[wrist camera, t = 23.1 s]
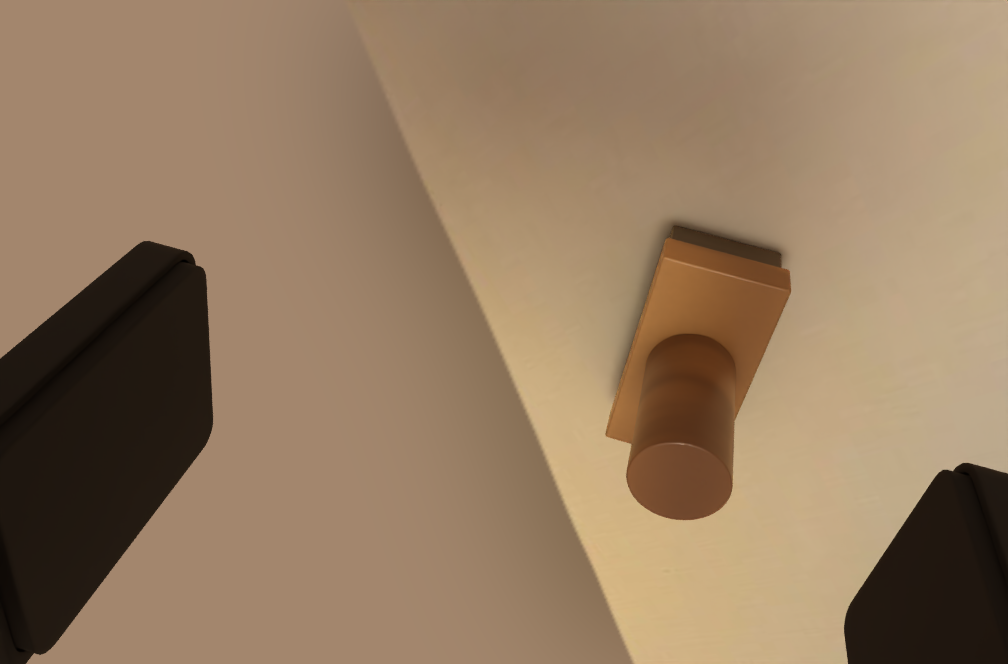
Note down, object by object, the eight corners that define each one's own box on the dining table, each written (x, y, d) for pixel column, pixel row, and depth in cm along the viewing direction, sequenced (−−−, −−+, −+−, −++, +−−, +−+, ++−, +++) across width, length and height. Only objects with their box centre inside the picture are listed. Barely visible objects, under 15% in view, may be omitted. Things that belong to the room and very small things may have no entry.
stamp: (614, 391, 36) (579, 550, 29) (669, 218, 31) (644, 355, 24) (716, 421, 35) (707, 589, 28) (788, 249, 31) (799, 399, 23)
